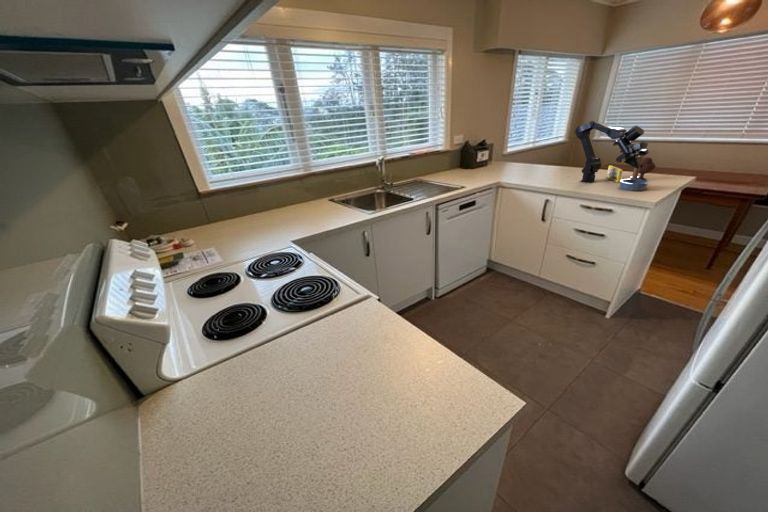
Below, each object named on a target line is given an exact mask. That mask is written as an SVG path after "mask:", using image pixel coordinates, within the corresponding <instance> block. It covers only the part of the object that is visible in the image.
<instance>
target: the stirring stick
mask: <svg viewBox="0 0 768 512" xmlns="http://www.w3.org/2000/svg"><path fill="white" fill-rule="evenodd" d="M643 158H644V157H643V156H638V157H637V161H636V162H637V164H638V166H639V168H635V167H633V168H634V169H633V171H632V174H631V176H629V179H639V177H640V176H639V174H640V173H639V170H640V166H641V163H642V160H643Z"/></svg>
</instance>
